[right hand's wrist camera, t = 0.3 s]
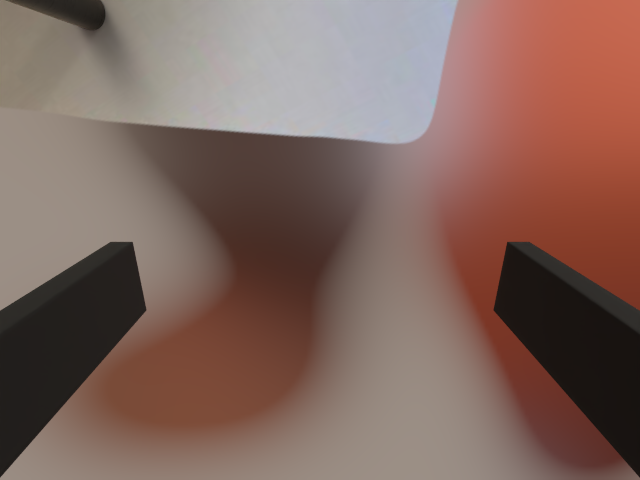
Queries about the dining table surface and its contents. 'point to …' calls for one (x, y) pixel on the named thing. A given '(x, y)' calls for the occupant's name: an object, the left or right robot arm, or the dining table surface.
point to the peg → (69, 11)
